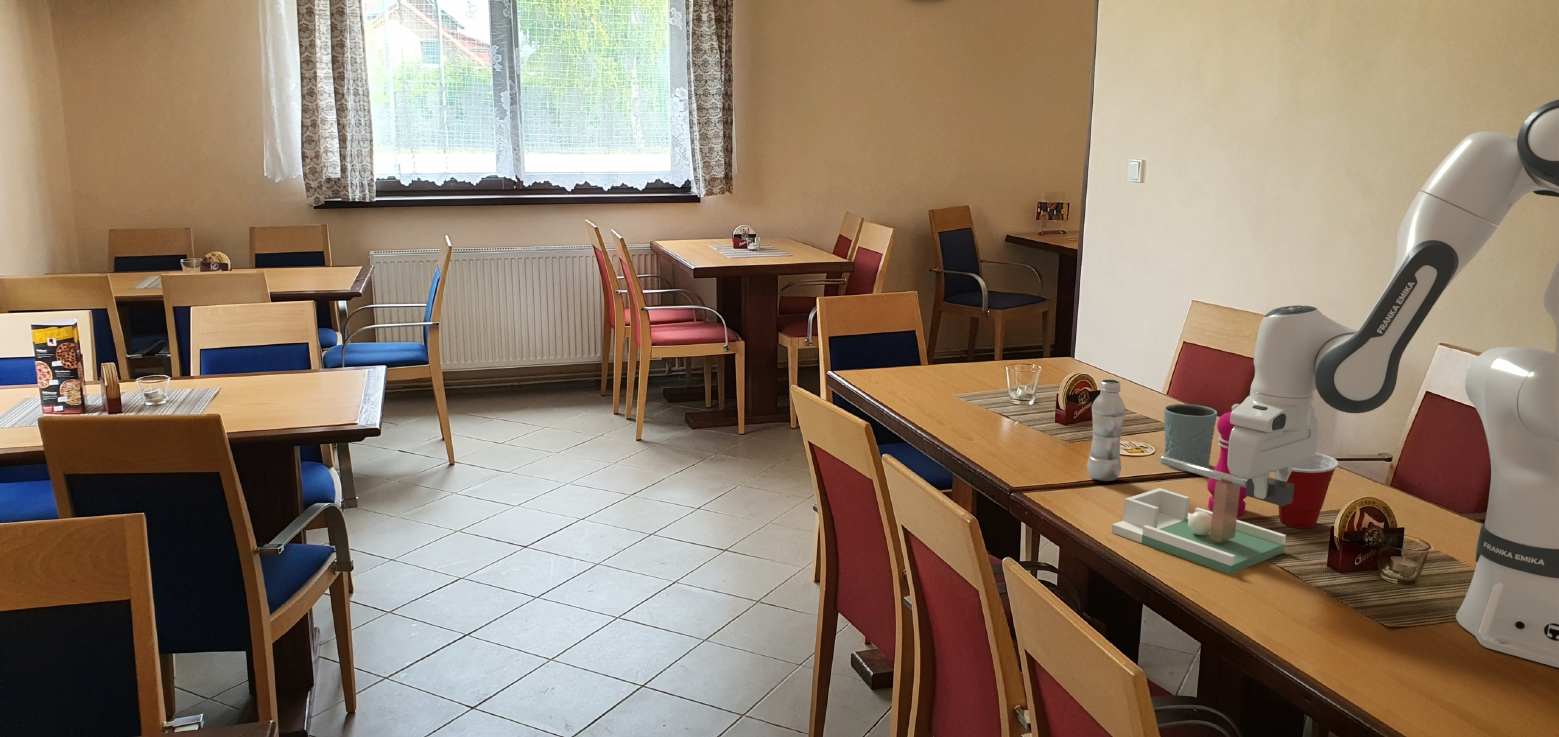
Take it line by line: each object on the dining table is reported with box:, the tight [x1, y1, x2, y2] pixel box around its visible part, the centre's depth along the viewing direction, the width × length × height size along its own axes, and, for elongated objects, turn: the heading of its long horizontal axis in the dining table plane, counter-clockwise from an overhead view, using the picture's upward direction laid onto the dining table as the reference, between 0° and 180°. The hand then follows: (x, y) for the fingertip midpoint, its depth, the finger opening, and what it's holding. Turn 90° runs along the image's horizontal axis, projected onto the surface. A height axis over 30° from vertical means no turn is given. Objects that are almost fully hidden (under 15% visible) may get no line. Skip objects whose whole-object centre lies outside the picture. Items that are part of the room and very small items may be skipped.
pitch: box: [1111, 487, 1287, 576], centre depth 179 cm, size 22×16×6 cm
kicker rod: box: [1159, 455, 1294, 542], centre depth 176 cm, size 23×4×12 cm, turn 37°
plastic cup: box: [1274, 452, 1339, 529], centre depth 188 cm, size 11×11×12 cm
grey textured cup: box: [1163, 403, 1218, 473], centre depth 220 cm, size 10×10×12 cm
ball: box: [1188, 511, 1212, 535], centre depth 179 cm, size 4×4×4 cm
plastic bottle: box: [1086, 379, 1126, 482], centre depth 210 cm, size 6×7×20 cm
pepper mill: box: [1206, 403, 1248, 516], centre depth 193 cm, size 7×7×20 cm
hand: (1269, 494), depth 168 cm, fingers open, 3 cm apart
